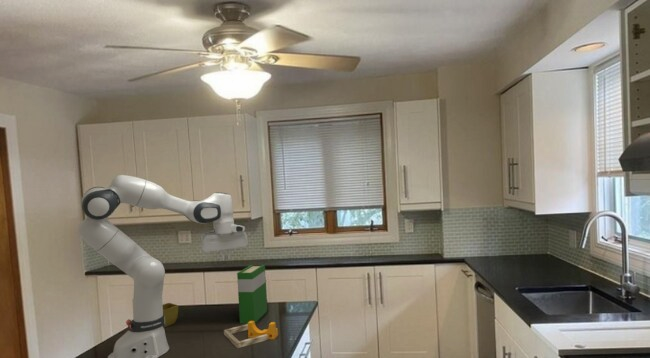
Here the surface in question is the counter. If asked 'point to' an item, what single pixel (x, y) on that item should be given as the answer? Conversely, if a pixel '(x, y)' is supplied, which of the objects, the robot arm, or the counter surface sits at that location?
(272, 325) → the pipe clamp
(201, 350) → the counter surface
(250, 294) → the hardback book
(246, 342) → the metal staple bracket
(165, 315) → the flower pot
